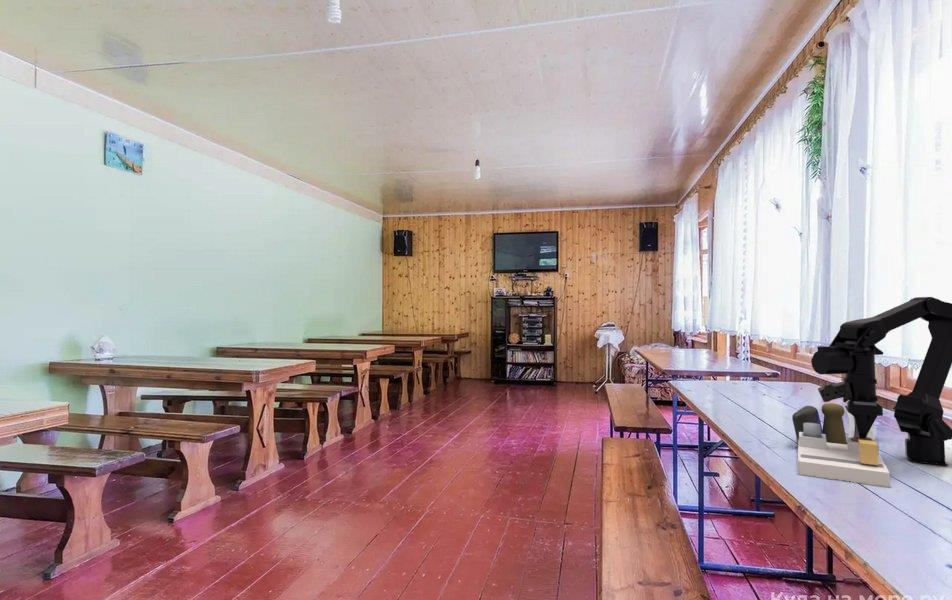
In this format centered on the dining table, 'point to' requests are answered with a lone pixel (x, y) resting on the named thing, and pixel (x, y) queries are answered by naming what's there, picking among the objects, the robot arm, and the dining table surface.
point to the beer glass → (853, 427)
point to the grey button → (812, 430)
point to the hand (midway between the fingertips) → (862, 438)
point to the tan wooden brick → (868, 452)
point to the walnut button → (855, 438)
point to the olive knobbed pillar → (834, 423)
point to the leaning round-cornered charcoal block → (805, 419)
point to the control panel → (838, 461)
